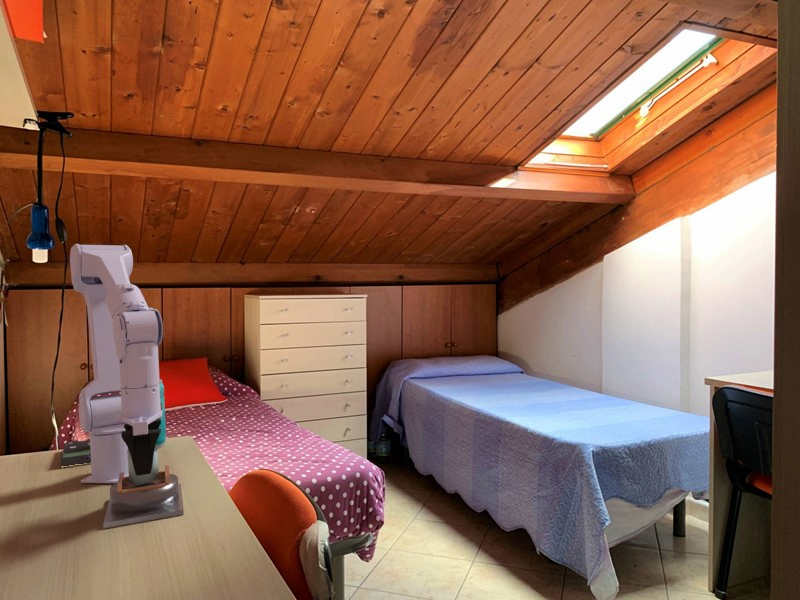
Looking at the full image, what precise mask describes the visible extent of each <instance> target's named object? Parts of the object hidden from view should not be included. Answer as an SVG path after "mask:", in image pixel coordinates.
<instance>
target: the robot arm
mask: <svg viewBox="0 0 800 600" xmlns="http://www.w3.org/2000/svg"><path fill="white" fill-rule="evenodd" d="M69 252H70V254H69V264H70V265H69V266H70V277H71V284H72V286H73V291H75V292H77V293H80V294H81V295H83V298H84V301H85V305H86V310H87V320H88V330H89V340H90V341H89V342H90V350H91V361H92V369H93V370H92V371H93V378H94V379H93V380H92V381H90V382H89V383H88V384H86V386H85V387H84V388H82V389H81V391H80V393H79V396H78V402H79V404H78V419H79V420H78V421H79V426H80V429H81V430H82V431H84V432H85V433H89V439H90V450H91V464H90V468H91V475H89V476H87V477H85V478H83V479H81V480H80V483H81V484H115V483H117V482H118V479H119V474H120V472H124V477H126V476H129V472H128V455H127V450H128V449H129V452H130V455H131V458H132V462H133V467H134V470H135V473H136V475H137V476H139V475H145V474H151V470H152V465H153V457H154V450H155V446H156V442H157V440H158V437H159V435H160V433H161V429H159V426H160V424H161V419H160V417H161V416H162V410H161V405H160V384H159V383H160V382H159V379H160V367H159V366H160V363H159V362H160V361H159V360H160V359H159V345H161V343H162V341H163V337H164V328H163V325H164V324H163V320H162V316H161V313H160V311H159V309H156V308H155V309H154V308H153V307H149V305H148V303H147V301H146V300H145V297H144V295H143V293H142V291H141V289H140V288H139V287H138V286H137V285H135V284H133V283H131V282H130V277H131V274H132V272H133V268H134V267H133V266H134V259H133V258H134V257H133V253H132V249H131V248H130V247H129V246H128V245H127V244H122V245H111V244H109V245H108V244H107V245H105V244H80V243H75V244H73V246H71V248H70V251H69ZM94 396H95V397H94Z"/></svg>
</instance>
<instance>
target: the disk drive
mask: <svg viewBox="0 0 800 600" xmlns="http://www.w3.org/2000/svg"><path fill="white" fill-rule="evenodd" d="M90 462H91V450H90V438H87V439H86V440H80V441H79V440H78V439H77V440H76V439H75V440H69V441H65V443H64V445H63V449H62V452H61V454H60V458H59V464H60V467H61V466H69V465H75V464H84V463H90Z"/></svg>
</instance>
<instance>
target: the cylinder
mask: <svg viewBox="0 0 800 600" xmlns="http://www.w3.org/2000/svg"><path fill="white" fill-rule="evenodd" d="M158 453H159V452H158V448H157V445H156V446H155V450H154V457H153V465H152V470H151V474H145V475H139V476H137V475H136V473H135V470H134V467H133V462H132V458H131V455H130V452H129V449H128V450H127V455H128V472H129V482H130V483H134V484H139V483H146V482H150V481H153V480H155V479H157V478H158V477H159V472H160V469H159V455H158Z"/></svg>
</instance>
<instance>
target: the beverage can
mask: <svg viewBox="0 0 800 600" xmlns="http://www.w3.org/2000/svg"><path fill="white" fill-rule="evenodd" d="M159 382H160V383H159V384H160V405H161V410H162V416H161V417H160V419H161V424H160V426H159V429H161V433H160V435H159V437H158V440H157V442H156V445H157V449H160V448H162V447H164V445H165V442H166V439H167V432H166V431H167V429H166V409H165V407H166V406H165V386H164V384H163V379H162V378H161V379H160V378H159Z"/></svg>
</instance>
